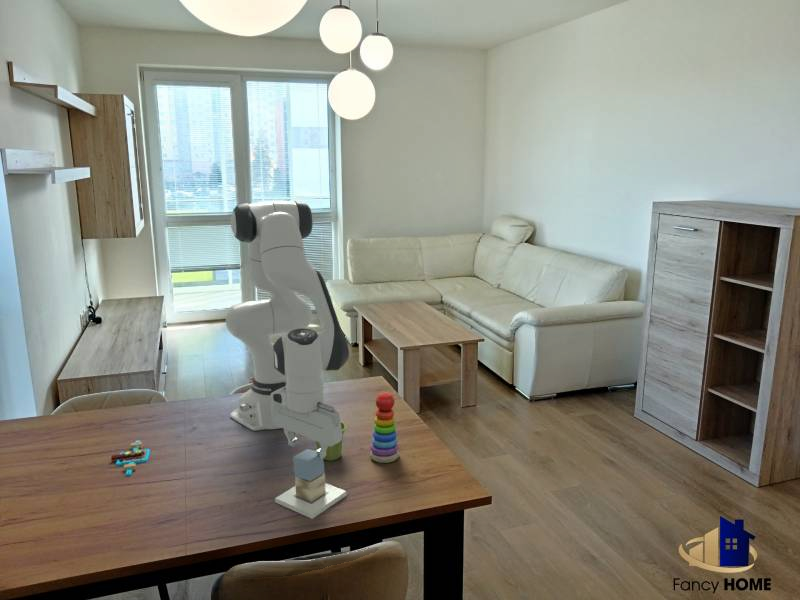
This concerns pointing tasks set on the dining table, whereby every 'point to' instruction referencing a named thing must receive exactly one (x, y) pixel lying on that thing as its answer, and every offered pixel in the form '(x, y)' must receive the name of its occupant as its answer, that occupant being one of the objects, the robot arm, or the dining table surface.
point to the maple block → (310, 487)
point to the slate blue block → (308, 465)
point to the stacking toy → (384, 431)
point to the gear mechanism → (129, 454)
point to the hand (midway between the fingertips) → (307, 451)
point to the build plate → (312, 507)
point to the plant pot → (333, 448)
